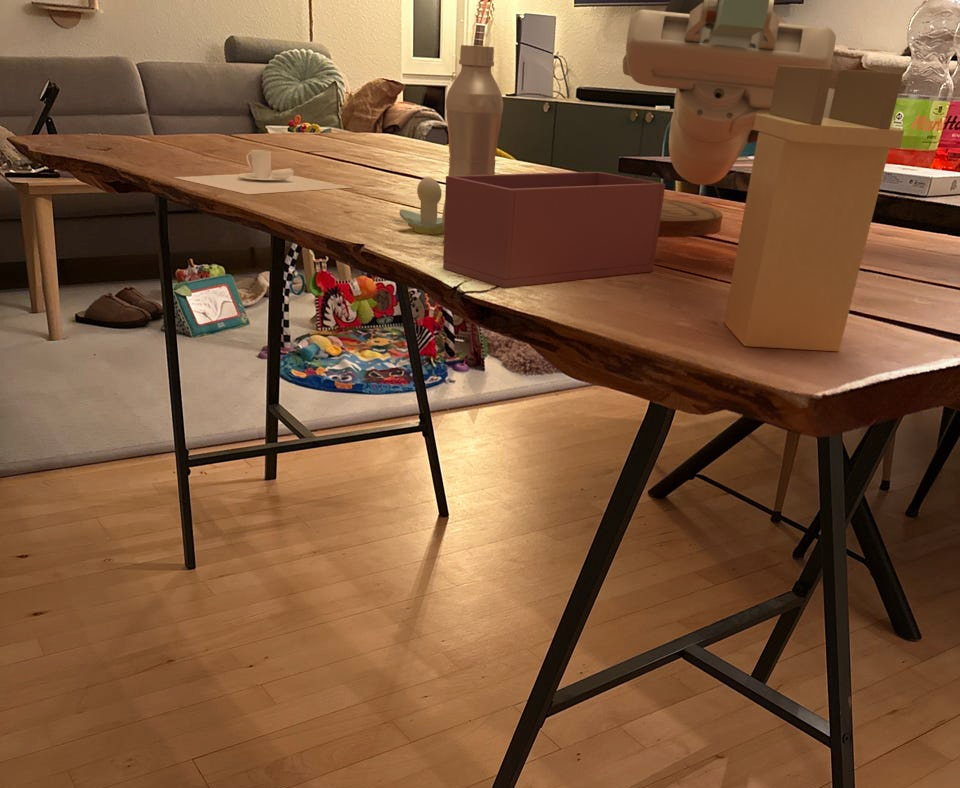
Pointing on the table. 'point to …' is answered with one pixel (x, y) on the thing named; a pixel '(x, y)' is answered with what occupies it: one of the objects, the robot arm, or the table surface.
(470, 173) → the plastic bottle
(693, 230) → the trivet
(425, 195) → the pacifier
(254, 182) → the teacup and saucer
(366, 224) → the table surface
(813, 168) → the tan trash bin
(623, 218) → the open storage box
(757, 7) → the pale green box
